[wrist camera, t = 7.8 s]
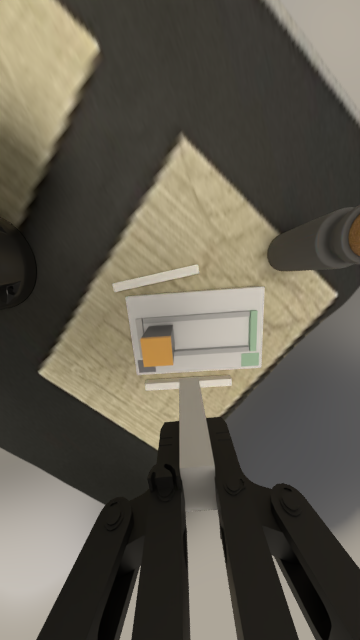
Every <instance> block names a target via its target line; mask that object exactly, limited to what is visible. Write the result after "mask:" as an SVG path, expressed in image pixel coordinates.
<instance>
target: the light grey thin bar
mask: <svg viewBox="0 0 360 640" xmlns="http://www.w3.org/2000/svg"><path fill="white" fill-rule="evenodd" d="M194 274H199V268H198V264H197V265H192V266H188V267H183V268H179V269H174V270H170V271H166V272H161V273H157V274H152V275H148V276H144V277H139V278H135V279H130V280H126V281H122V282H117V283H113V284H112V285H113V289H114V292H118V291H123V290H127V289H132V288H136V287H140V286H145V285H149V284H154V283H158V282H163V281H167V280H172V279H176V278H181V277H185V276H190V275H194Z"/></svg>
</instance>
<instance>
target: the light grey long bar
mask: <svg viewBox="0 0 360 640" xmlns="http://www.w3.org/2000/svg"><path fill="white" fill-rule="evenodd" d="M184 378H193V377H184ZM198 378H199V384H200V387H217V386H232V379H231V377H230V375H217V376H200V377H198ZM179 379H182V378H167V379H150V380H146V382H145V389H146V391H148V390H165V389H179Z"/></svg>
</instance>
